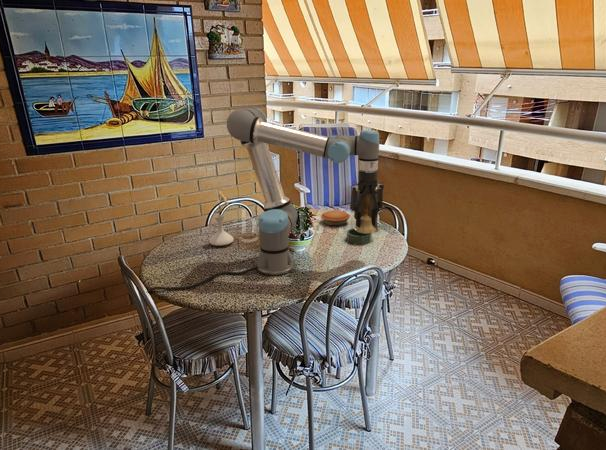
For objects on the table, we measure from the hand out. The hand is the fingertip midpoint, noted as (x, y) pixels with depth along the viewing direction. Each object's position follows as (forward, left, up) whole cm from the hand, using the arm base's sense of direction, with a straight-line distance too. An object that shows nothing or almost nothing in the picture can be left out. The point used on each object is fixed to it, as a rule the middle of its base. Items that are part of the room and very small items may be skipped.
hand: (365, 225), depth 169 cm
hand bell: (0, 0, -2) cm, 2 cm away
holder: (+7, +22, -16) cm, 28 cm away
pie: (+6, +49, -13) cm, 51 cm away
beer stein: (+18, +37, -16) cm, 44 cm away
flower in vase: (-56, +40, -16) cm, 70 cm away
